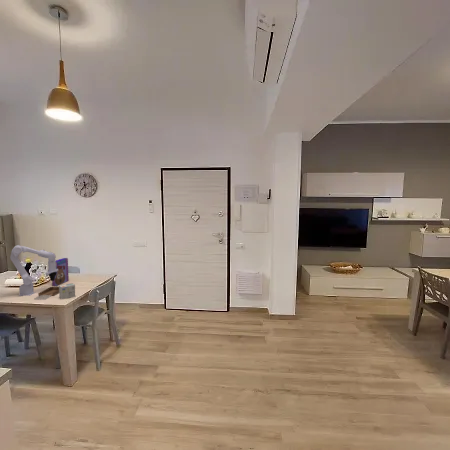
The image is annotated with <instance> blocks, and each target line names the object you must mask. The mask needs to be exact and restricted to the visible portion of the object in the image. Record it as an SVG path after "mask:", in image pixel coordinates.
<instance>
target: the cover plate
mask: <svg viewBox="0 0 450 450" xmlns="http://www.w3.org/2000/svg"><path fill="white" fill-rule="evenodd" d="M49 298H52V296H51V295H40V296H39V295H38V296H36V297H34V299H33V300H35V301H37V300H43V301H45V300H47V299H49Z"/></svg>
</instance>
